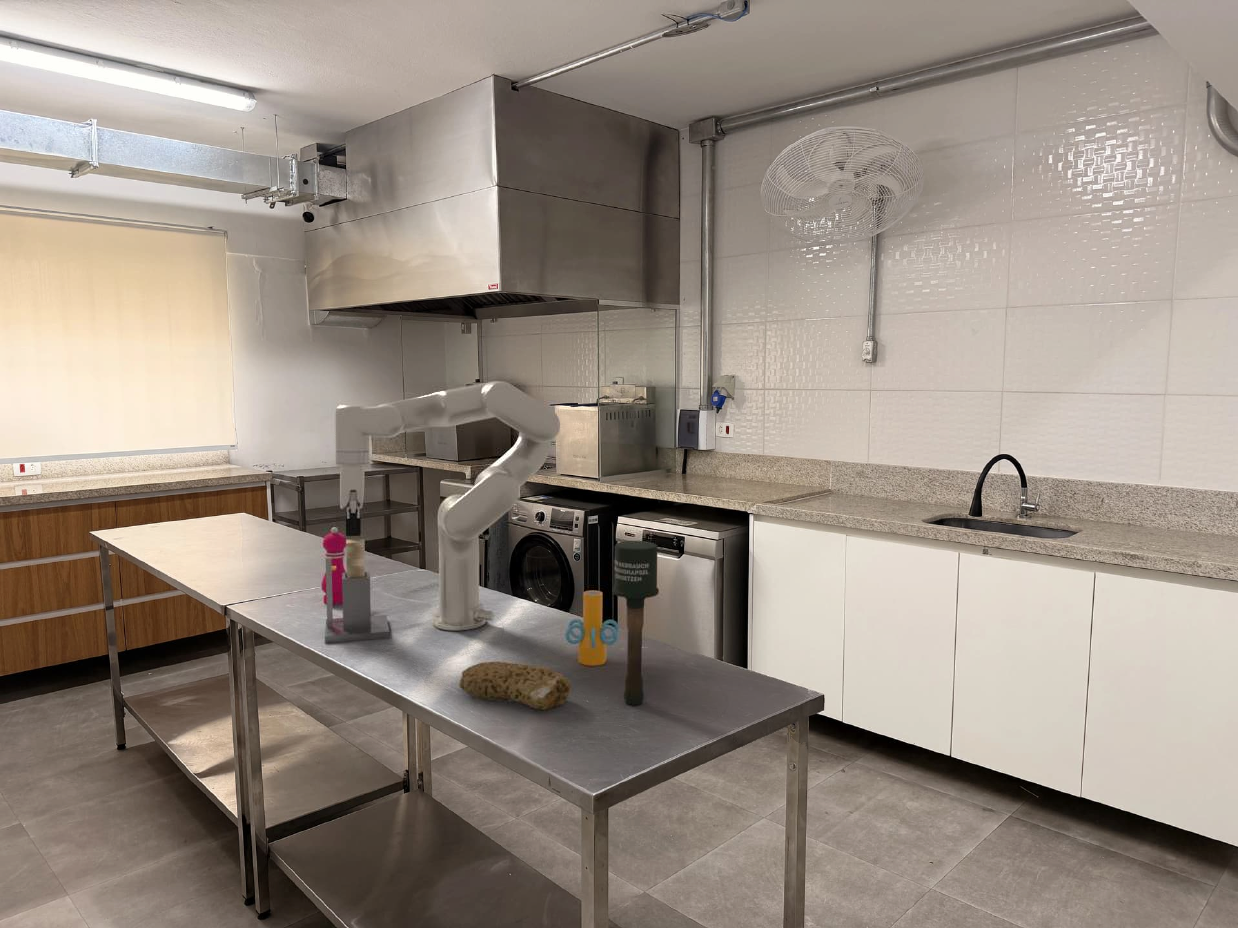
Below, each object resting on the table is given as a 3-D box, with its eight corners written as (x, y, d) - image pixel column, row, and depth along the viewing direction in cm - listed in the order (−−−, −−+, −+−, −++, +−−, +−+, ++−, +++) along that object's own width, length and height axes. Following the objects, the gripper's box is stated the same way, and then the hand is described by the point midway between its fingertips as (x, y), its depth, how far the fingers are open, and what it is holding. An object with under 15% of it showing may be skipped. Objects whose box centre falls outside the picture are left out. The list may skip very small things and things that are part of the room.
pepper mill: (354, 598, 223) (353, 525, 221) (343, 605, 216) (341, 530, 214) (329, 597, 224) (327, 524, 222) (316, 604, 217) (314, 529, 215)
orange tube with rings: (629, 659, 178) (630, 591, 176) (604, 674, 169) (604, 602, 167) (581, 649, 184) (582, 583, 182) (554, 663, 175) (555, 594, 173)
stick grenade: (601, 701, 154) (603, 544, 151) (633, 690, 160) (636, 538, 157) (633, 715, 148) (636, 551, 145) (666, 702, 154) (669, 544, 151)
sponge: (575, 705, 156) (498, 663, 167) (577, 671, 153) (499, 630, 164) (527, 741, 146) (449, 693, 157) (529, 705, 143) (449, 659, 154)
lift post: (365, 621, 197) (364, 539, 195) (366, 626, 193) (364, 542, 191) (347, 622, 196) (346, 539, 194) (347, 627, 192) (346, 543, 190)
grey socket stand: (386, 620, 204) (385, 548, 202) (389, 637, 190) (388, 561, 188) (326, 625, 199) (324, 551, 197) (324, 643, 186) (322, 564, 184)
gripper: (336, 455, 197) (336, 525, 199) (335, 462, 181) (335, 539, 183) (368, 455, 200) (369, 525, 201) (370, 462, 183) (371, 538, 185)
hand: (353, 531), depth 192 cm, fingers open, 9 cm apart
